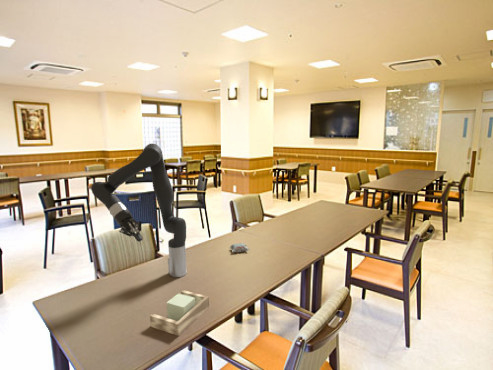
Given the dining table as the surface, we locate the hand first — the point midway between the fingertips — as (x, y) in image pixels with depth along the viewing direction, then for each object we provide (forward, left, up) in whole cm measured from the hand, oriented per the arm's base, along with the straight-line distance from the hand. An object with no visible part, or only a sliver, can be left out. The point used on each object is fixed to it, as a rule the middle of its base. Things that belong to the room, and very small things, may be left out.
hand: (141, 240), depth 143 cm
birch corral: (+29, -8, -28) cm, 41 cm away
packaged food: (+19, +67, -28) cm, 76 cm away
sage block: (+29, -8, -28) cm, 41 cm away
